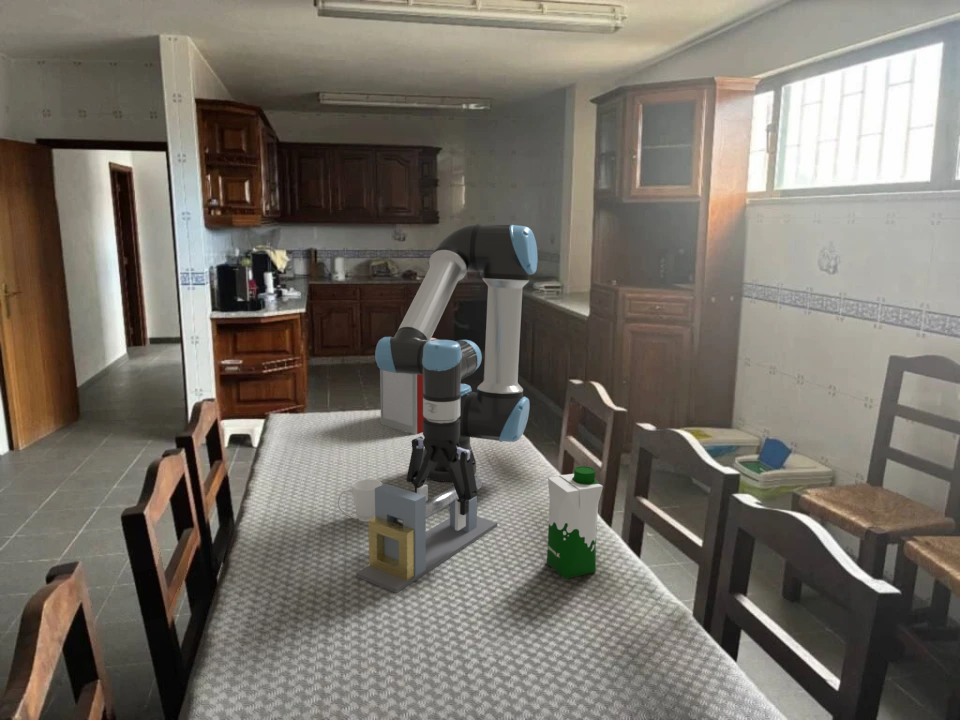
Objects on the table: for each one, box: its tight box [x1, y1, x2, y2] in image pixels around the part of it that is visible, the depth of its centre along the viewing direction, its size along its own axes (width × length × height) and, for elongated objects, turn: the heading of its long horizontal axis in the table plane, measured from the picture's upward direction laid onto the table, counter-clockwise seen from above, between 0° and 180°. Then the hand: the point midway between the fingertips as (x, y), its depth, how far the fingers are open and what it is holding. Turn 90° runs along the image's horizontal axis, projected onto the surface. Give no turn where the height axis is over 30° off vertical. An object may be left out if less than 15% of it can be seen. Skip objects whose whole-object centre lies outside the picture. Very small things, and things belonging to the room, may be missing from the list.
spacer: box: [368, 517, 414, 581], centre depth 134 cm, size 2×10×10 cm, turn 56°
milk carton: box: [546, 465, 604, 580], centre depth 137 cm, size 9×9×20 cm
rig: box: [355, 483, 498, 594], centre depth 143 cm, size 34×10×16 cm, turn 146°
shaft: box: [393, 475, 483, 526], centre depth 145 cm, size 26×3×3 cm, turn 146°
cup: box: [337, 478, 383, 523], centre depth 158 cm, size 7×10×8 cm
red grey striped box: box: [379, 337, 439, 435], centre depth 226 cm, size 17×18×27 cm
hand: (441, 521), depth 147 cm, fingers open, 9 cm apart
